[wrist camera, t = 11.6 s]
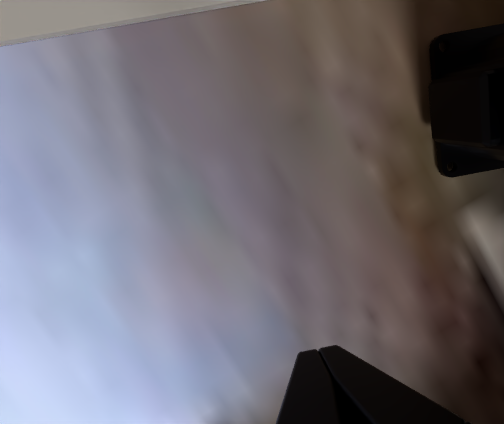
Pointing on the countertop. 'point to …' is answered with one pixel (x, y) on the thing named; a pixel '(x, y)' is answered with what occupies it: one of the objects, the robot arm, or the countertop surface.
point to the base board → (89, 15)
